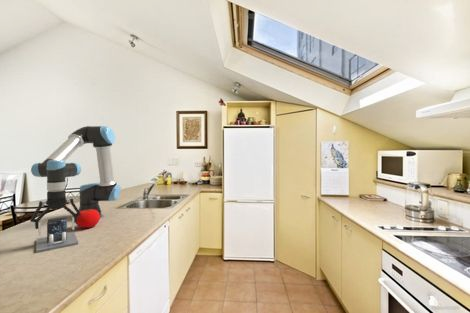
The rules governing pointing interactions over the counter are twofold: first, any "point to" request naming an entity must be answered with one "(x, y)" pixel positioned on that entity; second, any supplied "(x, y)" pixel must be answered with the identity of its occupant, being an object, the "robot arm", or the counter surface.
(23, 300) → the counter surface
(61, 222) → the box
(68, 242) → the grey stand base
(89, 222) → the tomato
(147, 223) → the counter surface
